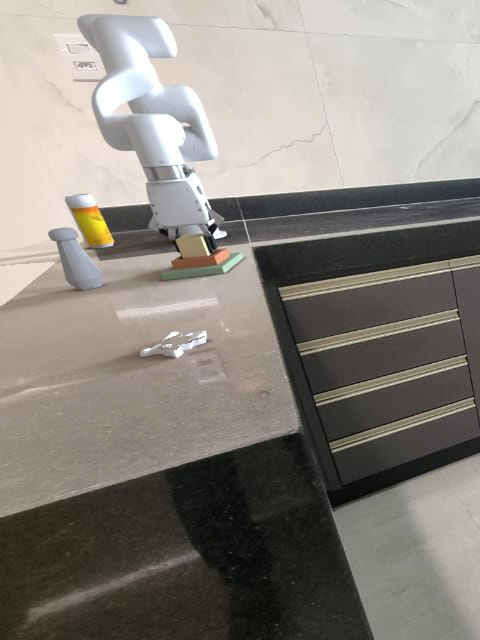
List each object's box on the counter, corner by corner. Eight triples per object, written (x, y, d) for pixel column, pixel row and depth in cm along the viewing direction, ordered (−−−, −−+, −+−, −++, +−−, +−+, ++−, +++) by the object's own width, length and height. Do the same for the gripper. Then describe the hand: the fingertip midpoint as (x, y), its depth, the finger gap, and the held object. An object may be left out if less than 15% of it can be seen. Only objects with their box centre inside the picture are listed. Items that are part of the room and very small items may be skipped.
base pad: (188, 264, 133) (182, 250, 132) (243, 258, 137) (238, 244, 136) (162, 280, 120) (155, 265, 118) (224, 273, 123) (218, 258, 122)
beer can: (118, 245, 160) (94, 193, 153) (92, 249, 155) (66, 197, 149) (111, 243, 163) (87, 193, 156) (85, 247, 158) (59, 196, 152)
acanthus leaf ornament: (176, 339, 86) (172, 328, 85) (216, 338, 86) (211, 328, 85) (134, 358, 79) (128, 347, 78) (176, 358, 79) (171, 346, 78)
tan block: (192, 253, 129) (184, 234, 127) (216, 250, 130) (209, 232, 128) (183, 258, 124) (175, 239, 122) (208, 256, 125) (200, 237, 123)
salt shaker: (85, 291, 114) (53, 231, 108) (64, 291, 115) (32, 231, 110) (114, 283, 119) (85, 225, 114) (94, 283, 120) (65, 225, 115)
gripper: (217, 170, 125) (245, 246, 133) (128, 175, 120) (163, 254, 128) (206, 173, 119) (236, 252, 126) (112, 179, 113) (150, 262, 121)
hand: (199, 253), depth 127 cm, fingers closed on tan block, 4 cm apart
